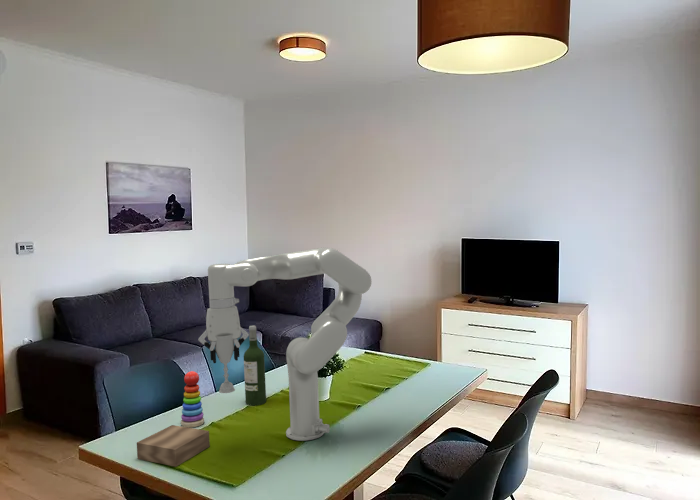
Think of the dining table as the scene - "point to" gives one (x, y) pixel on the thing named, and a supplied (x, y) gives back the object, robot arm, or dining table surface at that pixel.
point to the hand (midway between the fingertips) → (225, 360)
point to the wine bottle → (254, 371)
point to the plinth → (173, 445)
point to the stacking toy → (192, 402)
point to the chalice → (225, 359)
